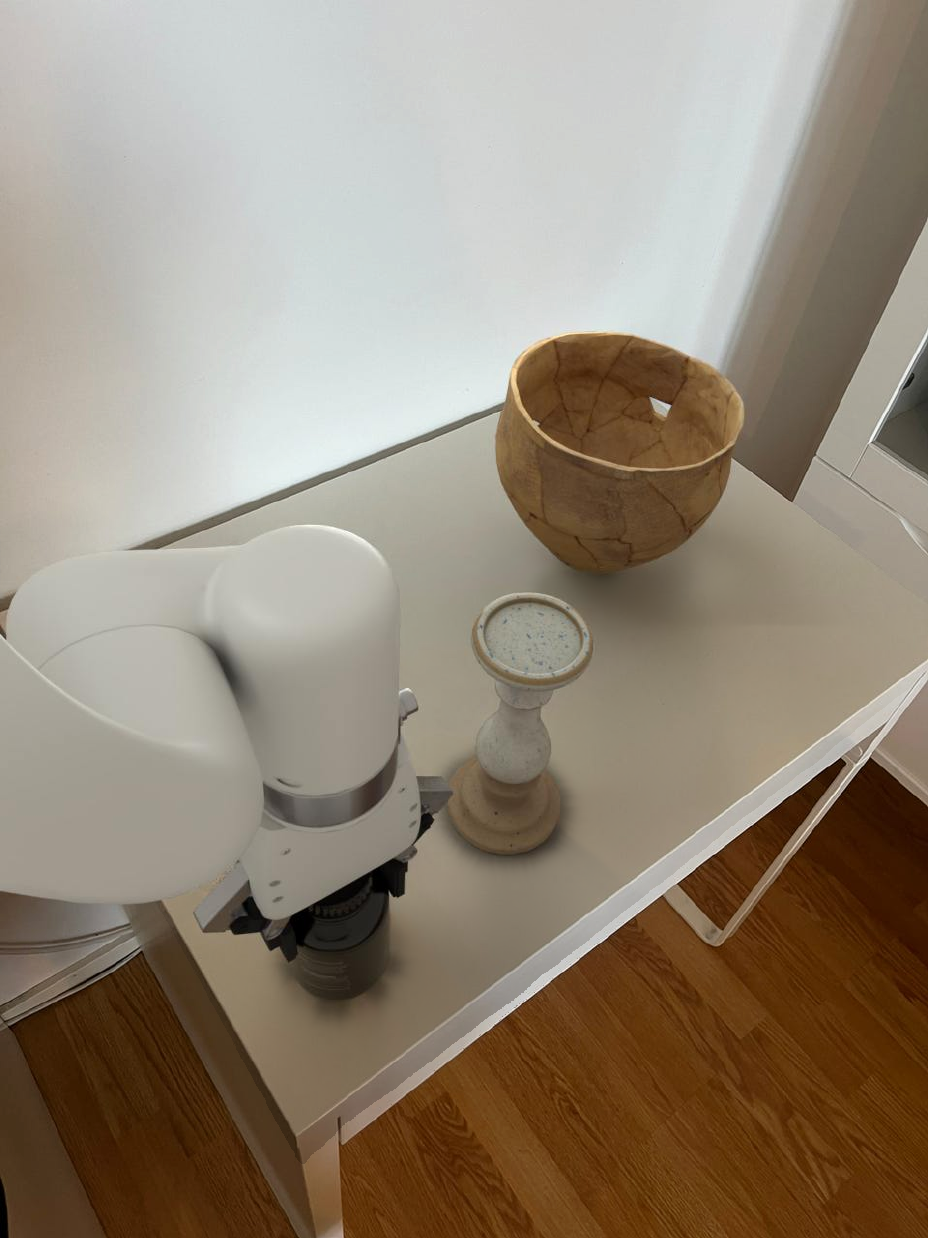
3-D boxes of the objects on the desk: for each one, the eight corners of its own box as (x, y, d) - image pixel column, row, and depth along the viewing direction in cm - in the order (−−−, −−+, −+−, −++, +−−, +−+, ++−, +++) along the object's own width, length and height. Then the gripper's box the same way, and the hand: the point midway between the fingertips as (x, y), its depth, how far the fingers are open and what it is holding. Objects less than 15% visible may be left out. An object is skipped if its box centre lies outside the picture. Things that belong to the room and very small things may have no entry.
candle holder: (503, 738, 76) (531, 563, 61) (582, 809, 72) (633, 640, 57) (423, 800, 72) (432, 627, 57) (502, 879, 68) (535, 716, 53)
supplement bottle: (410, 953, 64) (414, 872, 55) (335, 1026, 61) (326, 952, 52) (343, 887, 67) (337, 800, 58) (268, 953, 63) (249, 871, 55)
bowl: (478, 491, 97) (494, 318, 82) (668, 495, 99) (718, 326, 84) (489, 643, 83) (511, 467, 68) (711, 645, 85) (779, 473, 70)
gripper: (429, 630, 51) (420, 800, 64) (118, 774, 44) (180, 932, 57) (509, 727, 47) (482, 887, 60) (182, 902, 40) (233, 1039, 53)
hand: (335, 907), depth 58 cm, fingers closed on supplement bottle, 6 cm apart
